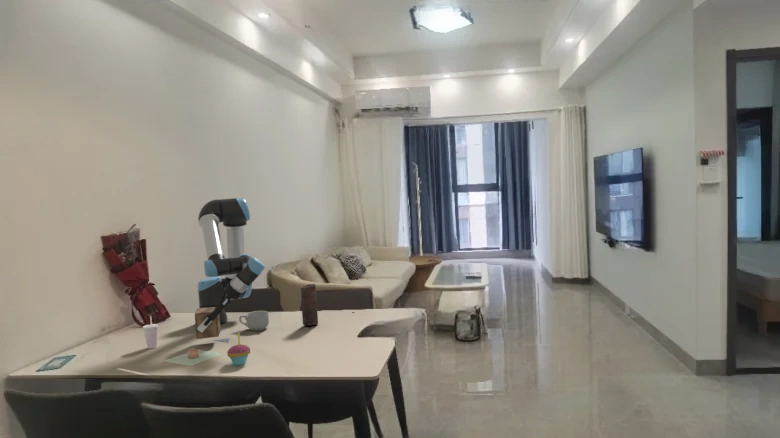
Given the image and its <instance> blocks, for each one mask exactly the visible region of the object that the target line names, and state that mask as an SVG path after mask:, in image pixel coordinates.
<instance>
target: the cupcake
mask: <svg viewBox="0 0 780 438" xmlns="http://www.w3.org/2000/svg"><path fill="white" fill-rule="evenodd" d="M240 335H241V333H240V331H239V330H238V332H237V345H236V344H234V345H233V346H230V348H229V349H228V350H227V353H226V354H227V357H228V358H229V359H230V360H231V362H232V364H233V365H234V366H241V365H245V364H247V360H248V356H249V354H251V348H250V347H249V346H248V345H247V344H241V337H240Z"/></svg>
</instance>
